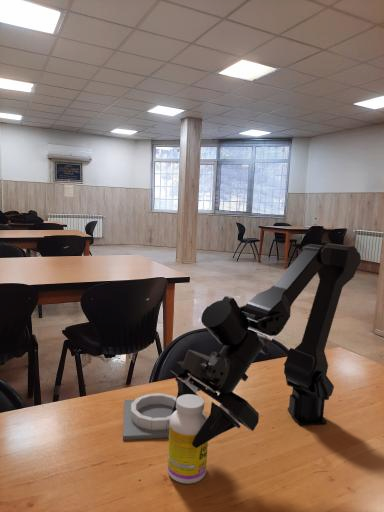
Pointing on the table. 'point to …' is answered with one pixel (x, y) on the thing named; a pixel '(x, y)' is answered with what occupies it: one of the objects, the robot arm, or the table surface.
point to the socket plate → (148, 416)
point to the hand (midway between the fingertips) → (181, 435)
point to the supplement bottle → (187, 440)
